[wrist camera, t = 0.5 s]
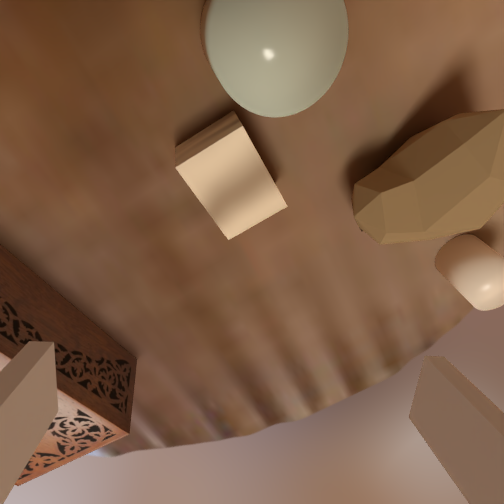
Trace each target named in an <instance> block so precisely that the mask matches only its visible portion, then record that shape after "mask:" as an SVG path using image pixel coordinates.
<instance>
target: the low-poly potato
mask: <svg viewBox="0 0 504 504" xmlns="http://www.w3.org/2000/svg"><path fill="white" fill-rule="evenodd" d="M503 203H504V109H502V110H491V111H480V112H470V113H459V114H456V115H454V116H452V117H450V118H448V119H446V120H444V121H442V122H440V123H438V124H436V125H434V126H432V127H430V128H428V129H426V130H424V131H422V132H420V133H418V134H416V135H414V136H412V137H410V138H409V139H408V140H407V141H406V142H405V143H404V144H403V145H402V146H401V147H400V148H399V149H398V150H397V151H396V152H395V153H394V154H393V155H392V156H391V157H390V158H388V159H387V160H386V161H385V162H384V163H383V164H382V165H381V166H380V167H379V168H378V169H376V170H375V171H373V172H372V173H370V174H369V175H367V176H366V177H364V178H363V179H361V180H360V181H358V182H357V183H355V185H354V190H353V195H352V206H353V214H354V218H355V220H356V222H357V224H358V226H359V228H360V229H361V231H364V232H365V233H367V234H368V235H369V236H370V237H371V238H373V239H374V240H375V241H376V242H377V243H379V244H390V243H401V242H411V241H422V240H431V239H435V238H440V237H445V236H449V235H454V234H459V233H463V232H468V231H472V230H477V229H481V228H482V226H483V225H484V224H485V223H486V222H487V221H488V220H489V219H490V217H491V216H492V215H493V214H494V213H495V212H496V211H497V210H498V208H499V207H500V206H501V205H502V204H503Z"/></svg>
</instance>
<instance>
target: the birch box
mask: <svg viewBox="0 0 504 504" xmlns="http://www.w3.org/2000/svg"><path fill="white" fill-rule="evenodd" d="M175 168H176V169H177V171H178V172H179V173H180V175H181V176H182V177H183V179H184V180H185V181H186V183H187V184H188V186H189V187H190V188H191V190H192V191H193V192H194V194H195V195H196V196H197V198H198V199H199V201H200V202H201V203H202V205H203V206H204V207H205V209H206V210H207V211H208V213H209V214H210V216H211V217H212V218H213V220H214V221H215V222H216V224H217V225H218V226H219V228H220V229H221V231H222V232H223V233H224V235H225V236H226V237H227V239H228V240H229V239H231V238H233V237H235V236H236V235H238V234H240V233H242V232H243V231H245V230H247V229H249V228H250V227H252V226H254V225H256V224H257V223H259V222H261V221H263V220H264V219H266V218H268V217H270V216H271V215H273V214H275V213H277V212H278V211H280V210H282V209H284V208H285V207H287V205H286V203H285V201H284V199H283V197H282V196H281V194H280V192H279V190H278V188H277V187H276V185H275V183H274V181H273V179H272V178H271V176H270V174H269V172H268V170H267V169H266V167H265V165H264V163H263V161H262V160H261V158H260V156H259V154H258V152H257V151H256V149H255V147H254V145H253V143H252V142H251V140H250V138H249V136H248V134H247V133H246V131H245V129H244V127H243V126H242V124H241V122H240V120H239V119H238V117H237V115H236V113H235V112H234V111H232V112H231V113H229V114H227V115H226V116H224V117H223V118H221V119H219V120H218V121H216V122H215V123H213V124H211V125H210V126H208V127H207V128H205V129H204V130H202V131H200V132H199V133H197V134H196V135H194V136H192V137H191V138H189V139H188V140H186V141H184V142H183V143H181V144H180V145H178V146H177V147H175Z"/></svg>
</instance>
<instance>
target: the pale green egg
mask: <svg viewBox="0 0 504 504" xmlns="http://www.w3.org/2000/svg"><path fill="white" fill-rule="evenodd" d="M200 38H201V44H202V48H203V51H204V54H205V57H206V59H207V61H208V63H209V65H210V66H211V68H212V70H213V71H214V73H215V74H216V76H217V78H218V79H219V81H220V83H221V84H222V86H223V87H224V89H225V90H226V92H227V93H228V94H229V95H230V96H231V98H232V99H233V100H234V101H235V102H237V103H238V104H239V105H240V106H242V107H243V108H245V109H246V110H248V111H250V112H253V113H255V114H258V115H261V116H266V117H284V116H289V115H293V114H296V113H298V112H301V111H303V110H305V109H307V108H308V107H310V106H311V105H313V104H314V103H315V102H317V101H318V100H319V99H320V98H321V97H322V96H323V95H324V94H325V93H326V92H327V90H328V89H329V88H330V87H331V85H332V84H333V82H334V80H335V79H336V77H337V75H338V73H339V71H340V69H341V66H342V63H343V61H344V57H345V54H346V49H347V43H348V17H347V11H346V7H345V3H344V0H206V2H205V4H204V7H203V10H202V15H201V20H200Z"/></svg>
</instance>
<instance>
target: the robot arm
mask: <svg viewBox="0 0 504 504" xmlns="http://www.w3.org/2000/svg"><path fill="white" fill-rule="evenodd" d="M57 413H58V398H57V382H56V366H55V350H54V342H37V341H29V342H28V343H27V344H26V345H25V346H24V347H23V348H22V349H21V351H20V352H19V353H18V354H17V355H16V356H15V357H14V358H13V359H12V360H11V361H10V362H9V363H8V364H7V365H6V366H5V367H4V368H3V369H2V370H1V371H0V504H3V503H4V501H5V500H6V498H7V496H8V495H9V493H10V491H11V490H12V488H13V486H14V485H15V483H16V481H17V480H18V478H19V476H20V475H21V473H22V471H23V470H24V468H25V466H26V465H27V463H28V461H29V460H30V458H31V456H32V455H33V453H34V451H35V450H36V448H37V446H38V445H39V443H40V441H41V440H42V438H43V436H44V435H45V433H46V431H47V430H48V428H49V426H50V425H51V423H52V421H53V420H54V418H55V416H56V415H57ZM409 418H410V420H411V421H412V423H413V424H414V425H415V427H416V428H417V430H418V431H419V433H420V434H421V435H422V437H423V438H424V440H425V441H426V443H427V444H428V446H429V447H430V448H431V450H432V451H433V452H434V454H435V456H436V457H437V458H438V460H439V461H440V463H441V464H442V466H443V467H444V468H445V470H446V471H447V473H448V474H449V476H450V477H451V478H452V480H453V481H454V483H455V484H456V485H457V487H458V488H459V490H460V491H461V493H462V494H463V496H464V497H465V498H466V500H467V501H468V503H469V504H504V413H503V412H502V411H501V410H500V409H499V408H498V407H497V406H496V405H495V404H494V403H493V402H492V401H491V400H490V399H488V398H487V397H486V396H485V395H484V394H483V393H482V392H481V391H480V390H479V389H478V388H477V387H475V386H474V384H472V383H471V382H470V381H469V380H468V379H467V378H466V377H465V376H464V375H463V374H462V373H461V372H460V371H459V370H458V369H457V368H455V367H454V366H453V365H452V364H451V363H450V362H449V361H448V360H447V359H446V358H445V357H439V356H425V357H424V361H423V365H422V368H421V373H420V376H419V380H418V384H417V387H416V391H415V395H414V399H413V402H412V406H411V410H410V414H409Z"/></svg>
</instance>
